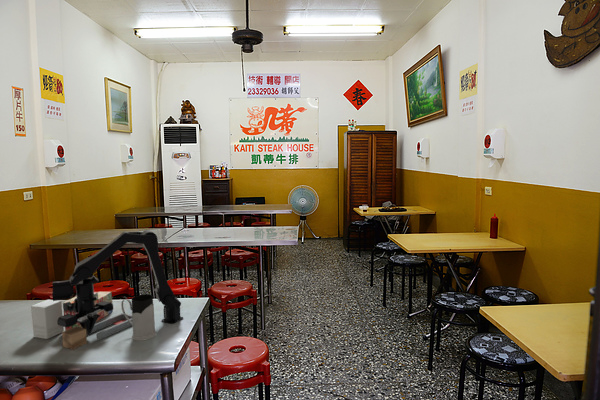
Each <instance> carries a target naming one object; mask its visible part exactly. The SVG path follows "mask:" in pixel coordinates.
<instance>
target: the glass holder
mask: <svg viewBox="0 0 600 400" xmlns="http://www.w3.org/2000/svg"><path fill="white" fill-rule="evenodd" d="M124 301H127V302H128V303H129V308H130V310H131V315H132V322H131V321H130V320H129V318H128V317H127V316H126V314H127V313H126V312H125V307H124ZM121 310H122V313H123V314H124V316H125V318H126V319H127V320H128V321H129V322H130V323H131V324H132V325H131V326H132V336H131V339H132V340H134V341H146V340H150V339H153V338H154V337H155V336H156V335H157V331H156V328H155V327H156V326H155V325H156V324H155V323H156V322H155V306H154V296H153V295H152V294H139V295H136V296H133V297H132V298H131V300H130V299H128V298H125V299H123V300H122V301H121ZM125 313H126V314H125Z"/></svg>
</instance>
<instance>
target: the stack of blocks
mask: <svg viewBox="0 0 600 400" xmlns="http://www.w3.org/2000/svg"><path fill="white" fill-rule="evenodd" d="M112 293H113V292H112V291H94V297H96V299H97V300H94V301H95V305H96V304H97V303H100V302H102V301H106V302H111V303H112V304H113V296H112ZM76 298H77V296H76V295H75V296H74V297H71V298H69V299H67V300H66V301H63V303H62V305H63V304H64V303H67V302H70V303H74V300H75V299H76ZM113 312H114V309H113V310H111V311H108V312H106V311H104V309H103V310H101V311H98V315H100V317H99V318H98V319H97V321H96V323H98V321H100V320H101V319H103V318H105V317H106V316H108V315H110V314H112V313H113ZM66 314H71V315H76V314H78V312H77V313H75V312H74V311H72V312H70V313H69V311H66V312H65V311H64V310H63V316H64V315H66ZM76 326H77V327H81V328H82V326H81V325H80V323H78V322H77V323H76V324H75V325H73V326H70V327H64V328H65V329H64V331H66V330H69V329H71V328H74V327H76Z"/></svg>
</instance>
